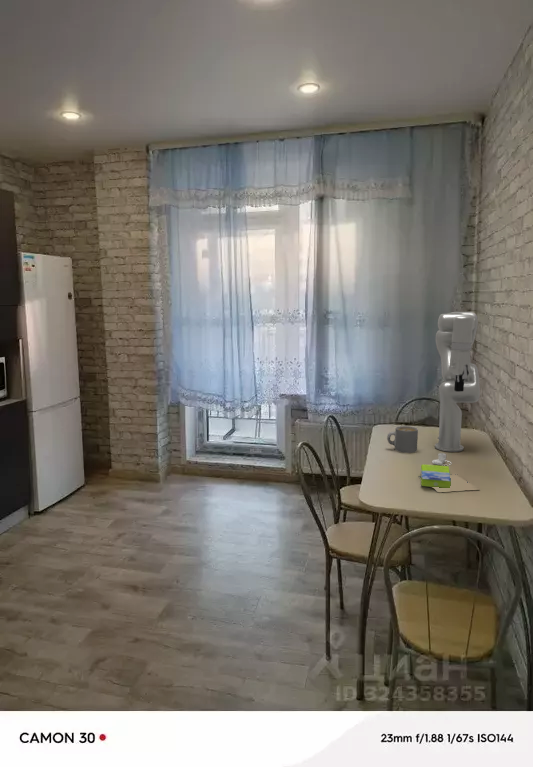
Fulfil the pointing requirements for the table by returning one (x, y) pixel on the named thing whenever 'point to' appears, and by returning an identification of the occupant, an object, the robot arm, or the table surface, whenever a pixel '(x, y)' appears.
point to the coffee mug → (404, 439)
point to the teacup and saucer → (440, 459)
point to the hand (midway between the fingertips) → (458, 390)
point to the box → (435, 476)
